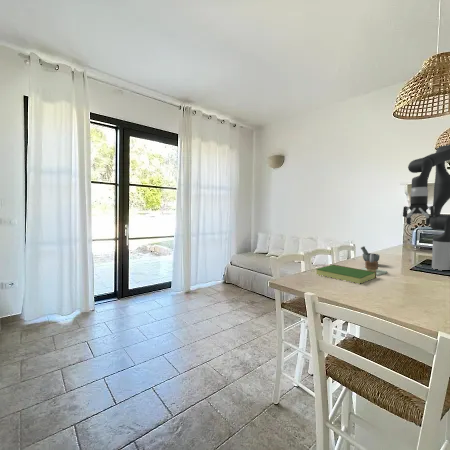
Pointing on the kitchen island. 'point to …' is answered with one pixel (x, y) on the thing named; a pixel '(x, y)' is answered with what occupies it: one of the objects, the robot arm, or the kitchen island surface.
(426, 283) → the kitchen island surface
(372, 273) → the hardcover book
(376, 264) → the ring
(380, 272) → the post
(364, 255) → the mortar and pestle
